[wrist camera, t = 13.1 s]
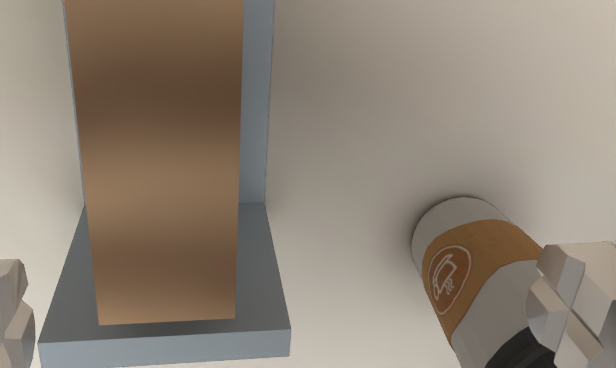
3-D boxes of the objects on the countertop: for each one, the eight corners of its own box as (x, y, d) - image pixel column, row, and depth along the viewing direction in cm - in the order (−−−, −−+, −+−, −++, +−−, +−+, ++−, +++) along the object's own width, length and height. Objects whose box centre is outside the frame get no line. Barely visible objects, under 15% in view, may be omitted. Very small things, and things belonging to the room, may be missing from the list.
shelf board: (66, -252, 17) (32, -287, 13) (240, -230, 18) (250, -258, 14) (112, 262, 25) (99, 325, 21) (229, 259, 26) (235, 318, 22)
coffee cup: (430, 163, 36) (566, 326, 23) (535, 199, 39) (710, 363, 25) (373, 269, 39) (463, 467, 26) (473, 296, 42) (601, 487, 29)
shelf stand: (261, 226, 36) (287, 369, 25) (91, 230, 34) (44, 385, 23) (287, -308, 24) (357, -452, 14) (29, -347, 22) (-118, -550, 12)
